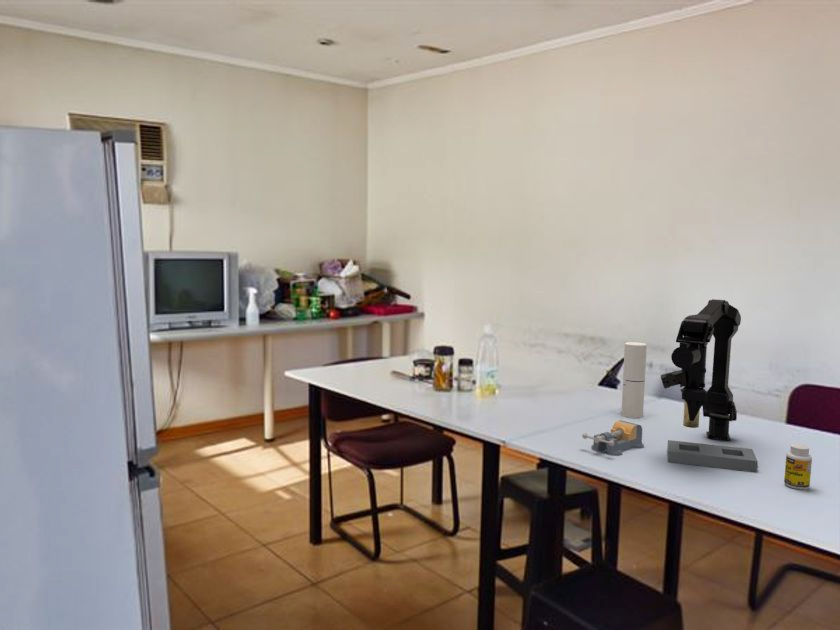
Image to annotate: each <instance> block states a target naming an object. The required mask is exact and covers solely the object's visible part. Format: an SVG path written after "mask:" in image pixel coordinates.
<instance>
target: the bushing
mask: <svg viewBox="0 0 840 630" xmlns="http://www.w3.org/2000/svg"><path fill="white" fill-rule="evenodd" d="M683 407H684V408H683V422H682V423H683V424H682V425H683V427H686V428H690V429H691V428H693V429H696V428H700V427H699V425H700V414H701V413H700V412H701V411H700V410H701V409H700V410H699V412H698V414H697V416H696V417H695V419H694V421H690V420H689V414H688V407H687V402H686V401H685V400H684V405H683Z"/></svg>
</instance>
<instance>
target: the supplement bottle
mask: <svg viewBox="0 0 840 630" xmlns="http://www.w3.org/2000/svg"><path fill="white" fill-rule="evenodd" d="M789 450H790V451H788V452H786V454H785V455H786V457H785V464H784V465H785V468H784V478H783V479H784V480H783V483H784V485H785V486H787V487H789V488H790V489H796V490H808V489H809V488H810V485H811V483H810V482H811V475H812V474H811V473H812V463H813V457H812V455H810V447H809V446H807V445H804V444H800V443H799V444H797V443H792V444H790V449H789Z"/></svg>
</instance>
